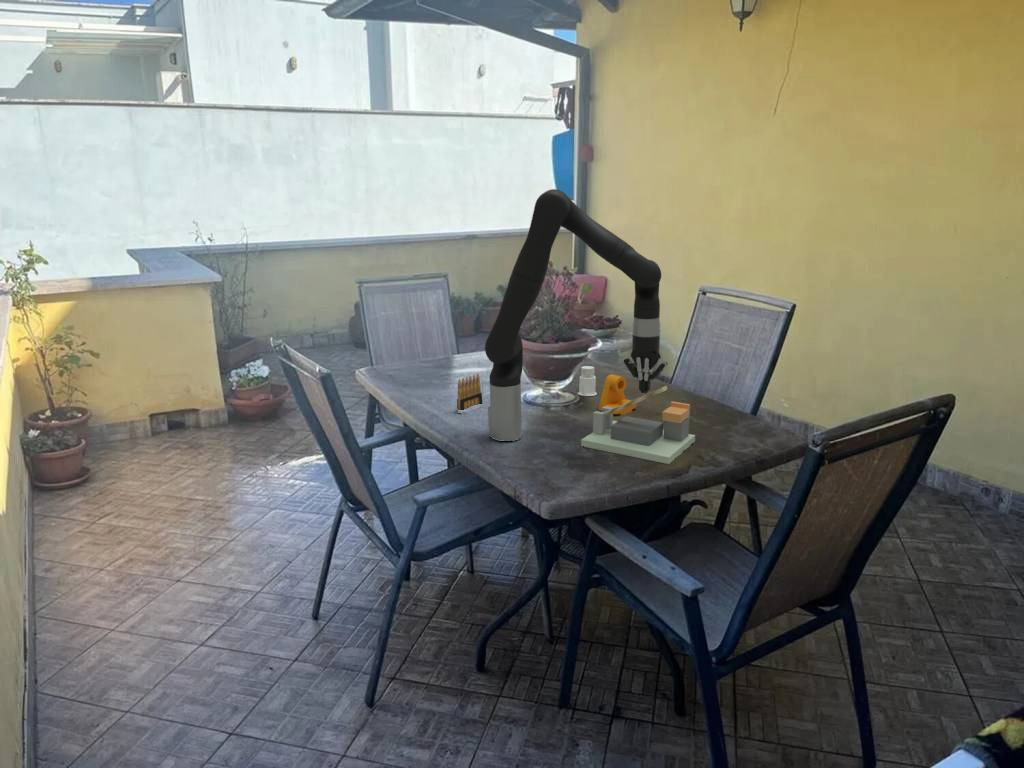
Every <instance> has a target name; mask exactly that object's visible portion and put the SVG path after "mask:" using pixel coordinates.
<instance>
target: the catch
mask: <svg viewBox="0 0 1024 768" xmlns="http://www.w3.org/2000/svg"><path fill="white" fill-rule="evenodd" d="M690 409H691V404H689V403H683V402H678V401H670V406H669V407H667V408H665V410H662V412H661V413H662V414H661V415H662V416H661V417H662V418H661V421H663V422H664V421H670V422H676V423H682V422H683V421H684V420H685V419H687V418H688V417H689V418H690V415H691V414H690V411H691V410H690Z"/></svg>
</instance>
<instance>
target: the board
mask: <svg viewBox="0 0 1024 768" xmlns="http://www.w3.org/2000/svg"><path fill="white" fill-rule="evenodd" d="M611 409H613V408H611V407H605V406H604V407H602V410H601V411H600V410H599V411H597V410H595V411H594V412H593V413H592V414H593V415H592V417H593V418H592V419H593V421H592V425H593V426H592V428H593V431H592V432H591V433H589V434H588V435H586V436H585V437H583V438H581V440H580V442H581V444H580V446H581V447H583V446H584V447H585V448H588V449H589V448H590V449H593V450H598V451H603V452H607V453H611V454H612V453H614V454H616V455H617V454H618V455H622V456H627V457H632V458H638V459H642V460H647V461H650V462H657V463H661V464H666V465H669V464H671V463H672V462H673V461H675V460H676V459H677V458H678V457H679V456H680V455H682V454H683V453H684V452H685V451H686V450H687V449H688V448H689V447H691V446H692V445H693V444H694V443H696V435H695V434H691V433H689V432H690V416H689V417H688V418H687V419H685V420H684V421H683V422H682V423H676V422H670V421H664V420H663V421H662V422H661V421H655V420H650V419H644V418H638V417H633V416H628V415H627V416H626V415H625V416H623V417H622V418H621V419H619V420H614V414H613V413H612V414H610V415H607V416H606V417H605V413H604V411H608V410H611ZM692 443H693V444H692ZM691 444H692V445H691ZM684 450H685V451H684ZM683 451H684V452H683ZM675 458H676V459H675Z"/></svg>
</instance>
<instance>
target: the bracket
mask: <svg viewBox="0 0 1024 768" xmlns="http://www.w3.org/2000/svg"><path fill="white" fill-rule="evenodd" d="M626 387H627V380H626V378H625V377H624V376H620V375H617V374H611V373H610V374H609V375H608V376H606V379H605V381H604V385H603V389H602V393H601V397H600V400H599V404H598V407H599V408H598V410H599V411H602V407H604V406H605V407H611V408H615V407H618V406H620V405H622V404H625V403H627V402H629V401H632V400H630V399H627V398H626V395H625V389H626ZM636 407H637V403H635V404H633V405H631V406H628V407H626V408H624V409H621V410H619V411H617V412H614V413H613V415H620V416H622V415H625V414H629V413H632V412H633V409H636Z"/></svg>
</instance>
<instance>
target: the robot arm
mask: <svg viewBox="0 0 1024 768" xmlns="http://www.w3.org/2000/svg"><path fill="white" fill-rule="evenodd" d="M531 216H532V217H531V221H530V226H529V229H528V233H527V236H526V239H525V241H524V243H523V245H522V248H521V249H520V251H519V253H518V257H517V258H516V260H515V262H514V263H515V264H514V266H513V268H512V271H511V275H510V277H509V280H508V283H507V287H506V288H505V289H506V290H505V292H504V294H503V299H502V301H501V304H500V305H501V306H500V309H499V312H498V315H497V317H496V319H495V322H494V323H493V326H492V328H491V330H490V332H489V334H488V335H487V338H486V340H485V344H484V351H485V354H486V357H487V360H489V361H490V362H491V363H492V368H491V371H490V372H489V396H490V397H489V401H490V402H489V403H490V406H488V407H487V417H488V418H487V421H488V422H487V424H488V426H487V427H488V436H489V435H490V436H492V437H493V438H495V439H498V440H504V441H510V440H516V439H519V438H521V439H522V437H523V436H522V435H523V434H522V432H523V430H522V425H523V424H522V389H521V387H522V386H521V385H522V384H521V383H522V382H521V377H522V373H523V365H524V361H523V358H524V357H523V355H524V354H523V353H524V352H523V351H524V350H523V349H524V348H523V345H524V344H523V341H522V337H521V335H520V333H519V332H520V329H521V326H522V324H523V323H524V321H525V318H527V316H528V314H529V312H530V311H531V310H532V307H533V306H534V304H535V303H536V301H537V299H538V297H539V294H540V292H541V289H542V287H543V284H544V281H545V279H546V275H547V271H548V267H549V263H550V256H551V251H552V249H553V246H554V242H555V240H556V238H557V236H558V234H559V232H560V229H561V227H562V228H563V229H566V230H567V231H569V232H571V233H572V234H574V235H575V236H576V237H578V238H579V239H580V240H581V241H582V242H583V243H584V244H586V246H588V247H589V248H590V249H591V250H592V252H594V253H595V254H597V256H599V257H600V258H601V259H603V260H604V261H605V262H607V263H609V264H610V265H612V266H613V267H615V268H616V269H618V270H619V271H621V272H622V273H624V275H626V277H628V278H629V279H631V281H633V282H634V302H633V322H632V338H631V339H632V341H631V342H632V344H631V348H632V351H631V353H630V356H629V357H626V358H624V359H623V363H624V365H625V367H626V368H627V370H628V371H629V372H630V374H631V375H632V377H634V378H637V379H638V390H639V391H640V393H641V394H648V393H649V392H650V390H651V380H652V381H653V380H655V379H656V378H657V377H658V376H659V375H660V374H661V373H662V372H663V371H664V369H666V368H667V366H668V365H669V364H668V361H667V362H666V361H664V360H662V357H661V354H660V336H661V321H660V312H661V311H660V310H661V304H660V302H661V301H660V296H659V295H660V282H661V279H662V270H661V268H660V266H659V264H658V263H657V262H656V261H654V260H652V259H648V258H647V257H645V256H644V255H643V254H641V253H640V252H637V251H636V249H635V248H634V247H633V246H632V245H630V244H629V243H628V242H626V241H625V240H623V239H622V238H620V237H619V236H617V235H616V234H614V233H613V232H612V231H610V230H608V229H607V228H606V227H604V226H603V225H601V224H600V223H599V222H598V221H596V220H595V219H593V218H592V217H590V216H589V215H588V214H587V213H586V212H584V211H583V209H581V208H580V207H579V206H578V205H577V204H576V203H575V202H573V201H572V199H571V198H570V197H569V196H568V195H567V193H565V192H564V191H562V190H560V189H557V188H554V189H553V188H552V189H549V190H546V191H544V192H543V193H541V194H540V195H539V196H538V197H537V199H536V201H535V203H534V207H533V212H532V215H531ZM655 366H656V367H657V368H656V369H655V370H654V368H655ZM653 371H654V372H653ZM521 436H522V437H521ZM519 440H520V439H519Z"/></svg>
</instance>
